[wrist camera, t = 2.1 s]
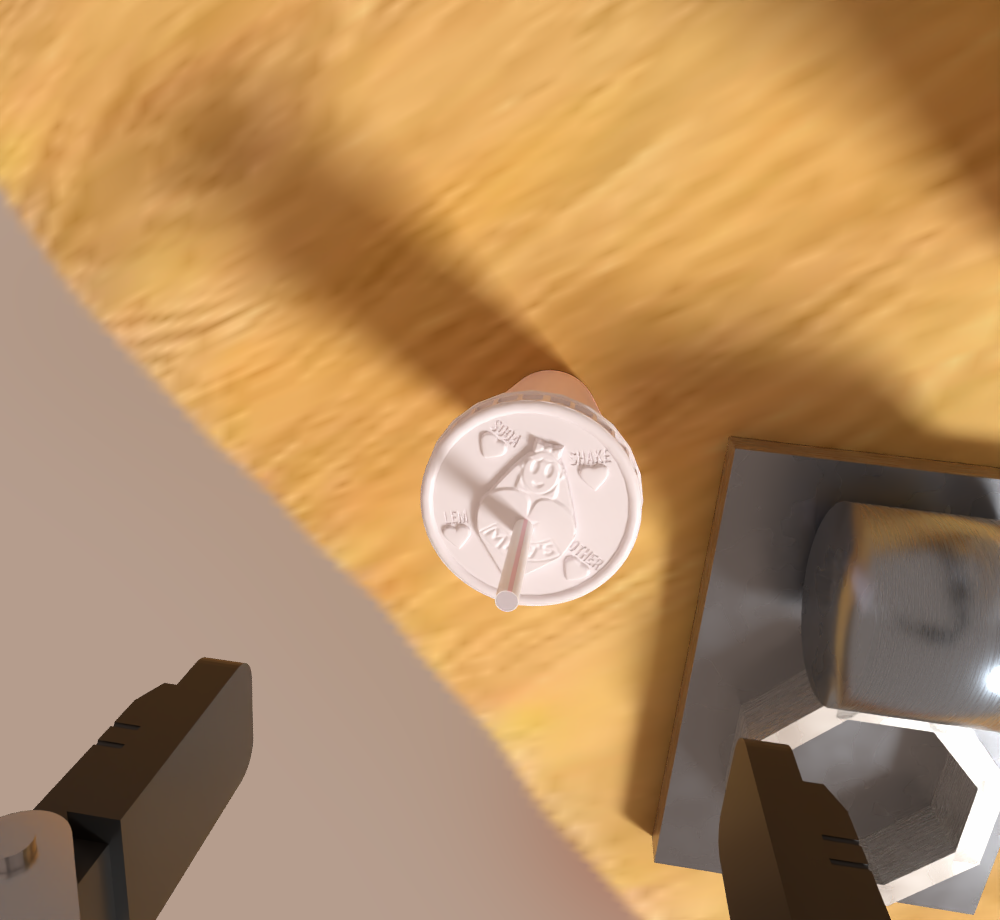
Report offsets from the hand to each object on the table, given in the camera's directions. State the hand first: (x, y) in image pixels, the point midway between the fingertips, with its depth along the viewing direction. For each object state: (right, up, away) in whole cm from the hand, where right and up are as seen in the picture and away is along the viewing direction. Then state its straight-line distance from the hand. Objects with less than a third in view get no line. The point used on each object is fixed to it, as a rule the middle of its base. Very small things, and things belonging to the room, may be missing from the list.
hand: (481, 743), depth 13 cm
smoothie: (+2, +7, +19) cm, 20 cm away
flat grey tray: (+15, -5, +21) cm, 26 cm away
